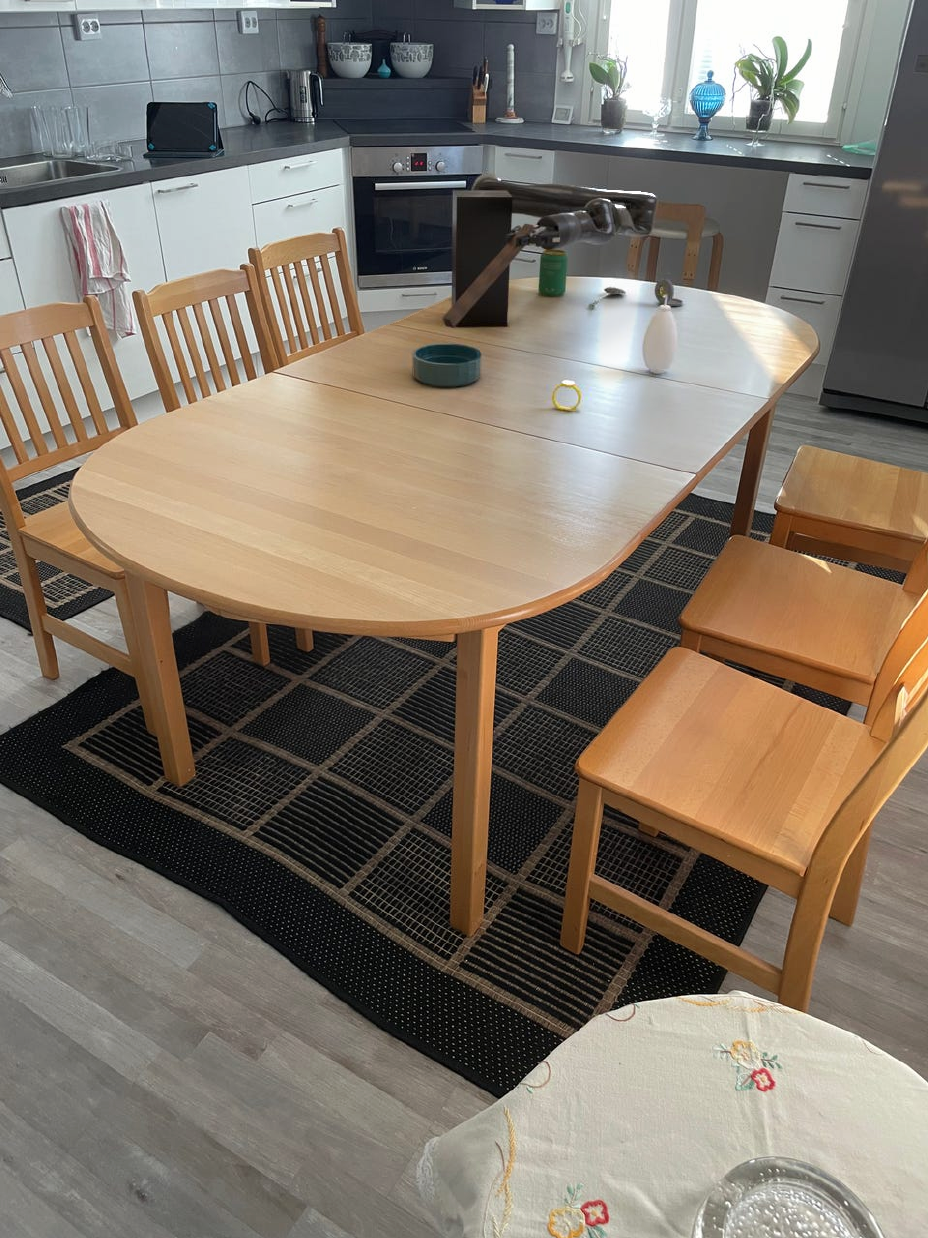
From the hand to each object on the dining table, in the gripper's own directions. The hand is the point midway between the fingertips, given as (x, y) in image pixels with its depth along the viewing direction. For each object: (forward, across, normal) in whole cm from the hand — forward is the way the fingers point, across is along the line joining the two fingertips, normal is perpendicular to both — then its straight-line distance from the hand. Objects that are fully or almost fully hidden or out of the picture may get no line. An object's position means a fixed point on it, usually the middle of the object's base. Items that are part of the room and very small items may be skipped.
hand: (512, 240), depth 214 cm
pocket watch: (-72, 0, -27) cm, 77 cm away
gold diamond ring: (+18, -32, -27) cm, 46 cm away
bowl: (+21, 0, -27) cm, 34 cm away
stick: (+7, 0, -6) cm, 10 cm away
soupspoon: (-62, +15, -27) cm, 69 cm away
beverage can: (-57, +31, -27) cm, 70 cm away
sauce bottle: (-17, -32, -27) cm, 45 cm away
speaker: (-18, +26, -27) cm, 42 cm away
